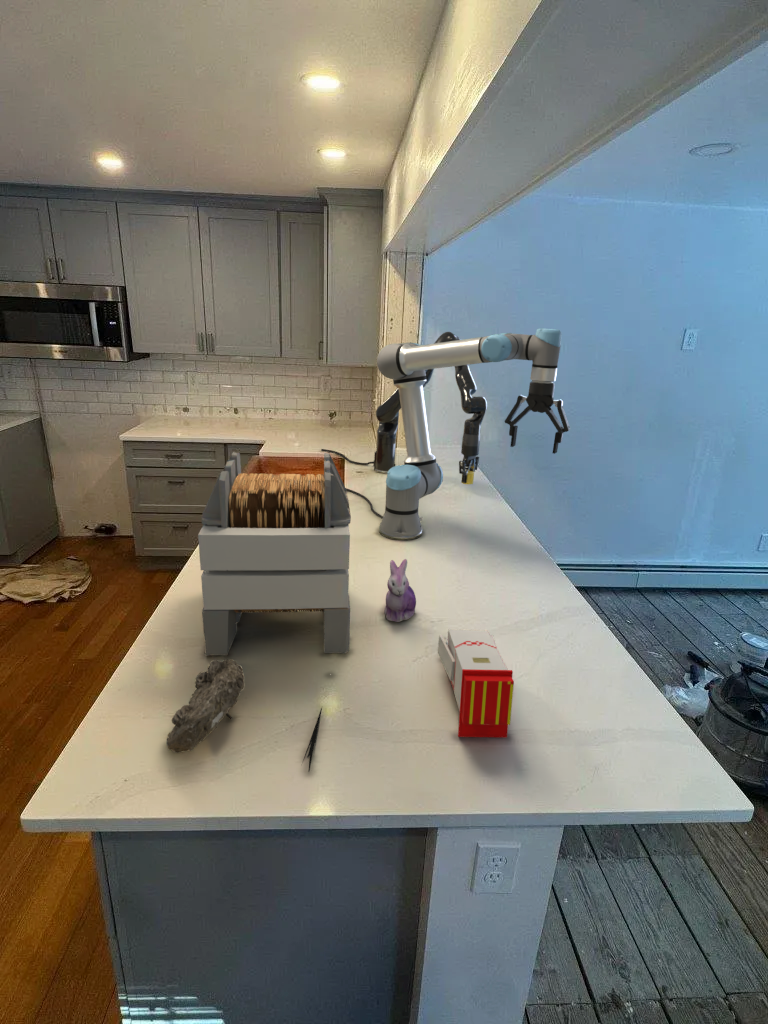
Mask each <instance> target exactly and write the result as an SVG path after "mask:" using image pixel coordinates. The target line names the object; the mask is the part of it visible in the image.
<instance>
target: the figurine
mask: <svg viewBox="0 0 768 1024" xmlns="http://www.w3.org/2000/svg"><path fill="white" fill-rule="evenodd" d="M407 567H408V559H406V558H404V559H403V560H402V561H401V563H400V565H399V566H398V565H397V563H396V562H395V561H394V560H393V559H391V560H390V561H389V570H390V576H389V578H388V579H387V589H388V591H387V592H386V594H385V595H386V596H385V607H384V615H385V616H386V620H387V621H391V622H395V623H400V622H402V621H406V620H409V619H410V618H411V617H413V616H414V615H415V610H416V606H417V597H416V593H415V591H414V590H413V587H411V586H410V582H409V579H408V577H407V574H406V571H407Z"/></svg>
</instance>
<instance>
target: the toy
mask: <svg viewBox="0 0 768 1024" xmlns="http://www.w3.org/2000/svg"><path fill="white" fill-rule="evenodd" d="M446 640H447V643H446V641H445V639H444V636H443V635H442V634H439V637H438V646H437V656H438V657H439V659H440V661H441V663H442V666H443V668H444V670H445V672H446V674H447V677H448V679H449V681H450V684H451V687H452V690H453V693H454V697H455V701H456V705H457V708H458V711H459V714H458V715H459V716H458V730H457V731H458V732H457V737H458V738H508V731H509V726H510V725H511V717H512V707H513V697H514V696H513V695H514V684H515V680H514V679H513V673H514V671H513V670H512V669H508V667H507V665H506V662H505V661H504V659H503V658H502V655H501V653H500V651H499V649H498V647H497V643H496V639H495V637H494V635H493V634H491V632H490V631H489V629H467V628H466V629H465V628H463V629H461V628H460V629H459V628H448V630H447V639H446Z"/></svg>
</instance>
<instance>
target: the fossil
mask: <svg viewBox="0 0 768 1024" xmlns="http://www.w3.org/2000/svg"><path fill="white" fill-rule="evenodd" d="M243 670H244V669H243V667H242V665H240V664H237V662H236V661H235V660H234V659H232V658H231V659H227V658H226V659H224V660H223V661H222V660H217V659H212V660H211V661H210V663H209V665H208V666H207V671H201V672H199V673H198V674H197V675H196V676H195V680H194V684H195V685H194V687H195V689H194V690H193V693H192V694H191V697H190V698H189V700H188V704H184V705H182V706H181V707H180V709H177V710H176V711H175V713H174V715H173V716H172V718H171V723H172V724H173V727H172V730H171V731H170V732H168V734H167V738H166V741H167V742H166V745H167V749H168V750H169V751H173V752H174V753H176V754H178V753H182V752H188V751H189V752H192V751H193V750H195V748H196V747H197V746H199V744H200V743H201V742H203V741H204V740H205V739H206V738H207V737H208V736H209V735H210V734H211V733H212V732H214V730H215V729H217V727H218V726H219V724H220V722H221V721H222V720H223V719H224V718H225V716H226V717H227V719H229V720H233V717H232V715H230V714H229V710H230V709H231V708H234V706H235V704H236V703H237V702H238V699H239V697H240V695H241V693H242V691H243V690H245V689H244V688H245V675H244V671H243Z"/></svg>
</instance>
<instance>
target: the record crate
mask: <svg viewBox="0 0 768 1024" xmlns="http://www.w3.org/2000/svg"><path fill="white" fill-rule="evenodd" d="M241 463H242V462H241V453H240V452H235V451H233V452H231V455H230V457H229V459H227V460H226V463H225V466H224V468H223V470H222V471H220V474H219V475H218V477H217V479H216V482H215V483H214V486H213V489H212V491H211V494H210V495H209V498H208V499H207V502H206V505H205V507H204V509H203V511H202V514H201V517H200V520H201V524H202V527H201V529H200V530H199V532H198V535H197V538H198V550H199V552H198V553H199V563H200V565H199V567H200V571H202V573H201V575H200V580H201V581H200V582H201V594H202V605H203V607H202V609H201V610H202V611H201V617H202V629H203V638H204V639H203V640H204V649H205V650H204V651H205V652H204V655H205V656H206V657H212V656H228V654H229V652H230V650H231V647H232V645H233V643H234V640H235V638H236V635H237V632H238V623H240V620H241V617H242V614H244V613H250V614H251V613H253V614H254V613H257V614H258V613H298V612H301V613H302V612H308V613H309V612H322V614H323V654H344V655H346V654H347V653H349V652H350V639H351V604H350V595H349V594H350V593H349V586H350V585H349V584H350V572H349V571H350V570H349V569H350V549H351V548H350V547H351V545H350V542H351V533H350V532H351V531H350V526H349V525H350V524H351V520H352V516H351V515H352V514H351V509H350V502H349V496H348V491H347V490H346V488H347V487H346V486H345V484H344V482H343V480H342V478H341V474H340V473H339V471H338V469H337V466H336V465H335V462H334V460H333V458H332V455H331V454H330V453H329V452H328V453H326V452H324V453H323V473H322V474H321V473H318V474H316V475H315V474H314V473H306V474H303V475H302V474H301V473H280V474H273V473H244V472H243V473H242V466H241Z"/></svg>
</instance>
